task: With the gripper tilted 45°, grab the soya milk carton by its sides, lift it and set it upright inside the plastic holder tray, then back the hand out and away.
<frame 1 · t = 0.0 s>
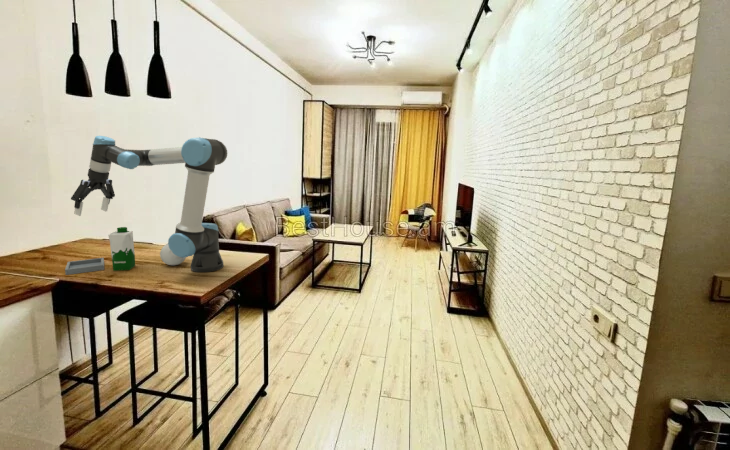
hand: (91, 212, 159), 28 cm above the table, tool tilted 20°, fingers open, 13 cm apart
decorative ball: (174, 265, 174), on the table
holder tray: (86, 268, 164), on the table
soya milk: (124, 268, 166), on the table
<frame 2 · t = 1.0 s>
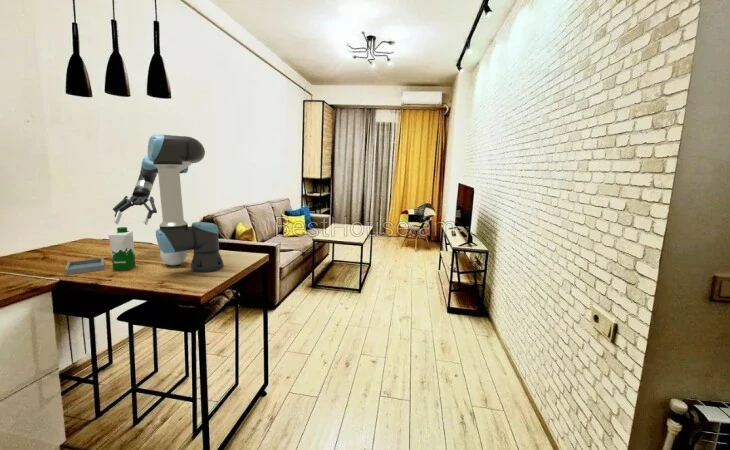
hand: (130, 223, 172), 21 cm above the table, tool tilted 45°, fingers open, 13 cm apart
nothing on the table moved.
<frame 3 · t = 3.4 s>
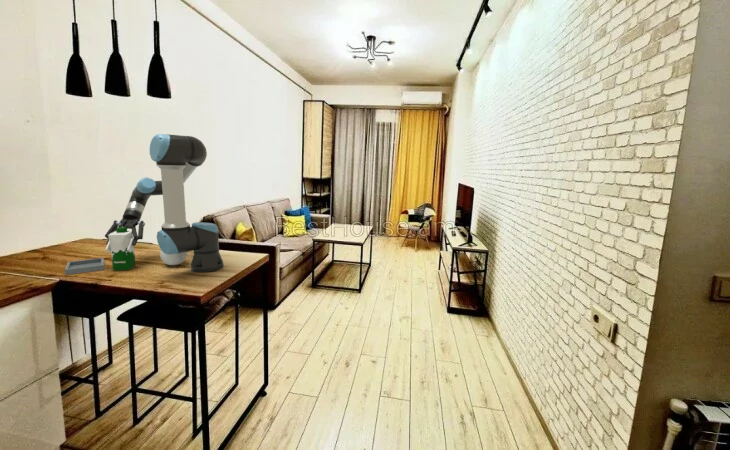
hand: (118, 250, 161), 10 cm above the table, tool tilted 45°, fingers closed on soya milk, 9 cm apart
soya milk: (124, 268, 166), on the table, touching gripper
everything else where it was.
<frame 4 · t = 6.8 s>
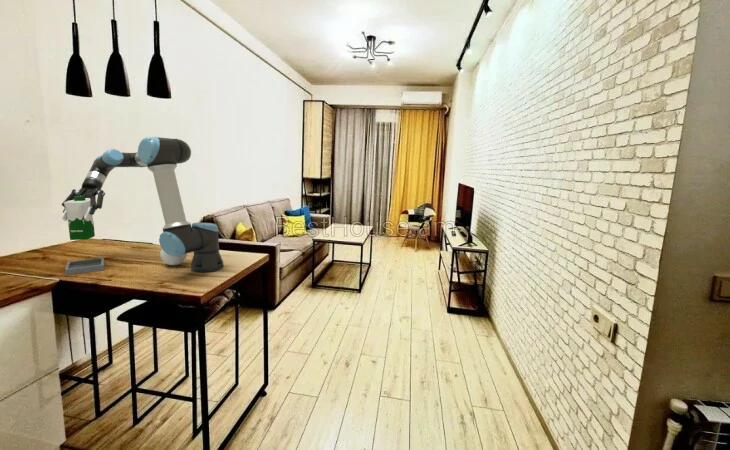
hand: (75, 219, 157), 25 cm above the table, tool tilted 45°, fingers closed on soya milk, 9 cm apart
soya milk: (82, 238, 162), point 15 cm above the table, touching gripper
everything else where it was.
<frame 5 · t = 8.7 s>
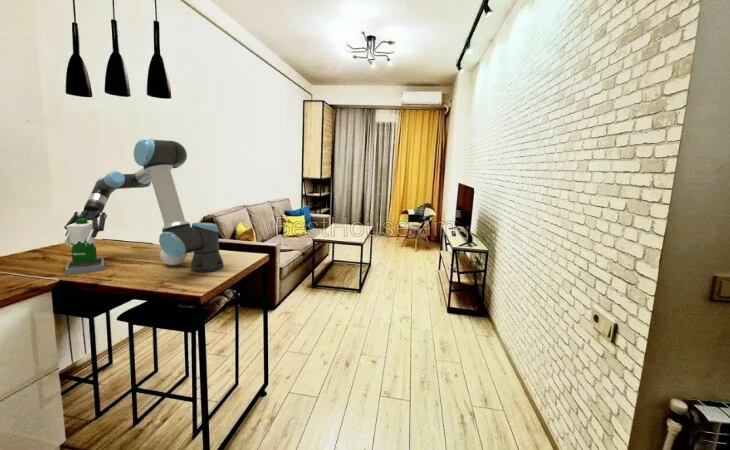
hand: (77, 242, 159), 14 cm above the table, tool tilted 45°, fingers closed on soya milk, 9 cm apart
soya milk: (84, 260, 164), point 4 cm above the table, touching gripper
everything else where it was.
when the fingers open (12 cm above the table, at t = 10.1 s): soya milk drops 1 cm, resting on holder tray.
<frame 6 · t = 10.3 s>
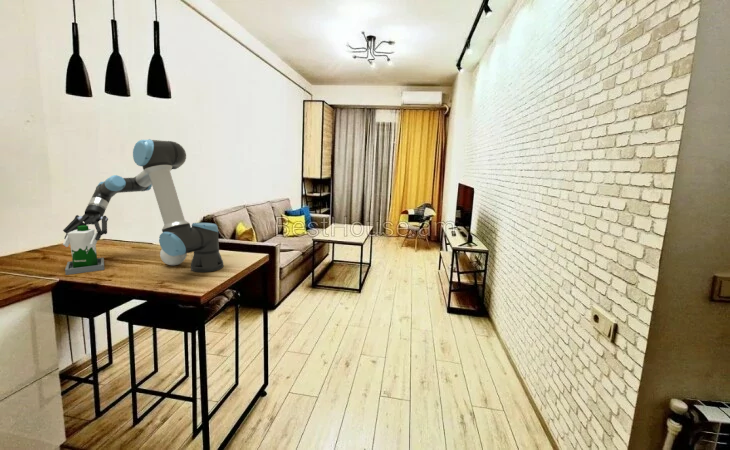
hand: (78, 245, 159), 12 cm above the table, tool tilted 45°, fingers open, 11 cm apart
soya milk: (85, 267, 164), resting on holder tray
everything else where it was.
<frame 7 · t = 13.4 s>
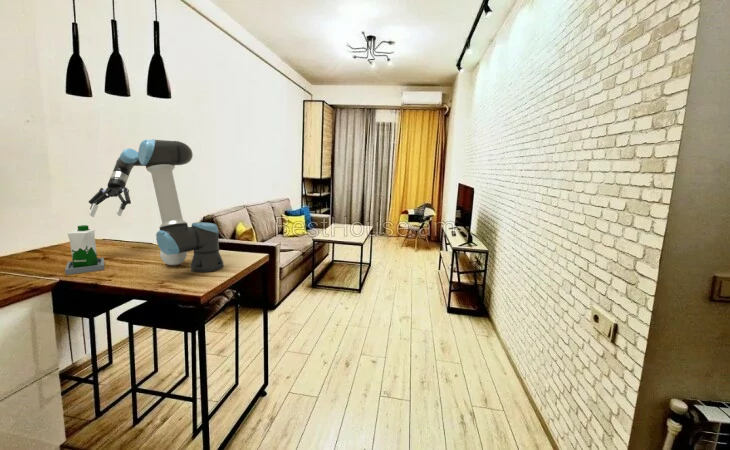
hand: (104, 215, 173), 24 cm above the table, tool tilted 40°, fingers open, 13 cm apart
nothing on the table moved.
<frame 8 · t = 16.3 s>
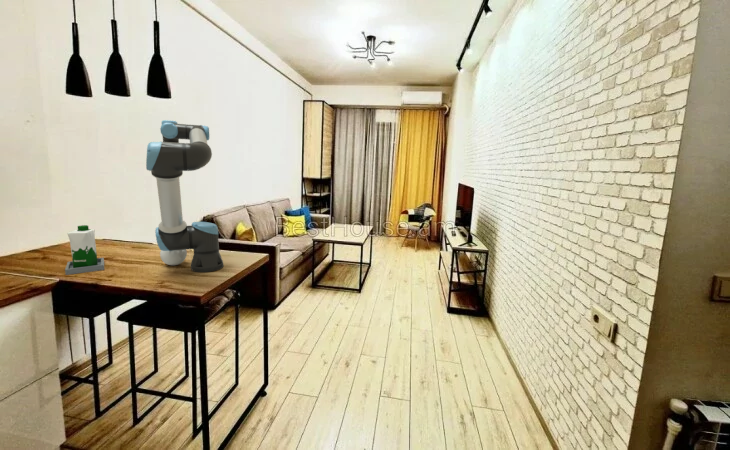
hand: (174, 190, 185), 37 cm above the table, tool pointing down, fingers open, 13 cm apart
nothing on the table moved.
at the end: soya milk 0.1 cm off-centre on the holder tray, point 0.4 cm above the holder tray's base; soya milk tilted 0°; the gripper is holding nothing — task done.
